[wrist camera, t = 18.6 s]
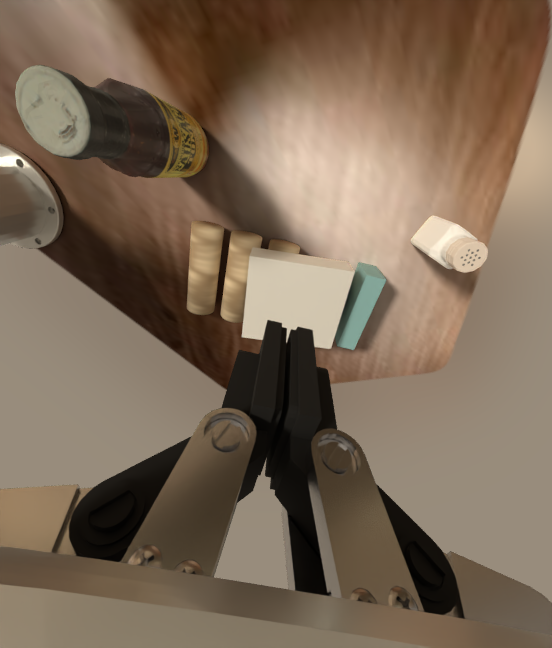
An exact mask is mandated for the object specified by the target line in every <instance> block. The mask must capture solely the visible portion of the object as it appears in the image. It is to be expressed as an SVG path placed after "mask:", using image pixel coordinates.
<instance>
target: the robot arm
mask: <svg viewBox="0 0 552 648" xmlns="http://www.w3.org/2000/svg"><path fill="white" fill-rule="evenodd" d="M63 218H64V217H63V210H62V206H61V202H60V199H59V197H58V195H57V193H56V190H55V188H54V187H53V185H52V184H51V182H50V180H49V179H48V178H47V176H46V175H45V174H44V173H43V172H42V170H41V169H40V168H39V167H38V166H37V165H36V164H35V163H34V162H33V161H32V160H30V159H29V158H28V157H26V156H25V155H24V154H22V153H21V152H19V151H17V150H15V149H14V148H12V147H10V146H7V145H4V144H1V143H0V246H2V245H5V244H9V243H10V244H12V245H15V246H18V247H22V248H29V249H32V248H40V247H43V246H46V245H49V244H51V243H53V242H54V241H55V240H56V239H57V238H58V236H59V235H60V233H61V231H62V227H63ZM286 339H287V328H284V327H282V323H280V322H275V321H271V320H267V324H266V328H265V332H264V336H263V340H262V345H261V349H260V353H259V354H255V353H251V352H246V351H242V350H239V352H238V355H237V358H236V361H235V365H234V368H233V371H232V375H231V378H230V381H229V385H228V388H227V391H226V395H225V398H224V401H223V405H222V408H220V409H216V410H213V411H211V412H210V413H208V414H207V415H205V417H204V418H203V419H202V420H201V421H200V423H199V425H198V426H197V428H196V430H195V432H194V433H193V435H192V436H191V437H189V438H187V439H185V440H184V441H181V442H179V443H178V444H176V445H174V446H172V447H170V448H168V449H166V450H164V451H162V452H160V453H158V454H156V455H154V456H152V457H150V458H148V459H146V460H144V461H142V462H140V463H138V464H136V465H135V466H132V467H130V468H129V469H127V470H125V471H123V472H121V473H119V474H117V475H115V476H113V477H111V478H109V479H107V480H105V481H103V482H102V483H100V484H98V485H97V486H96V487H94V488H79V485H78V484H77V485H59V486H43V487H25V488H8V489H0V648H552V603H551V602H550V601H549V600H548V599H547V598H546V597H545V596H544V595H542V594H541V593H539V592H538V591H536V590H535V589H533V588H531V587H530V586H527V585H525V584H523V583H521V582H518V581H516V580H514V579H512V578H509V577H507V576H505V575H503V574H501V573H498V572H496V571H494V570H492V569H489V568H487V567H485V566H483V565H480V564H478V563H476V562H474V561H472V560H469V559H467V558H465V557H463V556H460V555H458V554H456V553H454V552H451V551H450V552H449V553H447V554H446V553H443V552H442V550H441V549H440V548H439V547H438V546H437V544H436V543H435V542H434V541H433V540H432V539H431V538H430V537H429V536H428V535H427V534H426V533H425V532H424V531H423V530H422V529H421V528H420V527H419V526H418V525H417V524H416V523H415V522H414V521H413V520H412V519H411V518H410V517H409V516H408V515H407V514H406V513H405V512H404V511H403V510H402V509H401V508H400V507H399V506H398V505H397V504H396V503H395V502H394V501H393V500H392V499H391V498H390V497H389V496H388V495H387V494H386V493H385V492H384V491H383V490H382V489H381V488H380V487H379V486H378V485H377V484H376V483H375V480H374V477H373V475H372V472H371V469H370V467H369V464H368V461H367V459H366V456H365V454H364V452H363V450H362V448H361V447H360V445H359V444H358V443H357V442H356V441H355V439H353V438H352V437H351V436H349V435H348V434H346V433H344V432H342V431H340V430H337V425H336V419H335V413H334V406H333V399H332V393H331V387H330V380H329V373H328V370H327V369H325V368H320V367H316V357H315V347H314V337H313V330H311V329H307V328H302V327H297V329H296V330H293V329H291V331H290V334H289V337H288V340H287V344H286ZM266 457H267V460H266ZM265 460H266V470H265V476H266V477H271V484H270V489H274V490H275V496H276V497H277V498H278V499H279V501H280V502H281V504H282V523H283V535H284V546H285V556H286V568H287V579H288V589H281V588H275V587H269V586H263V585H257V584H251V583H244V582H238V581H233V580H226V579H220V578H214V575H215V572H216V568H217V566H218V562H219V559H220V556H221V553H222V550H223V546H224V543H225V540H226V537H227V534H228V531H229V528H230V524H231V521H232V518H233V515H234V512H235V509H236V505H237V503H238V502H239V501H240V500H241V499H243V498H244V497H245V496H247V495H248V494H249V493H251V492H252V491H253V488H254V486H255V483H256V480H257V477H258V475H261V472H262V469H263V466H264V463H265Z"/></svg>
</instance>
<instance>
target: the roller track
mask: <svg viewBox="0 0 552 648" xmlns="http://www.w3.org/2000/svg"><path fill="white" fill-rule="evenodd" d="M223 234H224V228H223V227H222V226H220V225H218V224H215V223H211V222H205V221H194V222H192V224H191V241H190V259H189V276H188V294H187V309H188V310H189V311H190V312H192V313H194V314H198V315H208V314H211V313H213V312H214V310H215V301H216V293H217V285H218V276H219V268H220V259H221V251H222V242H223ZM261 243H262V237H261V236H259V235H257V234H255V233H252V232H248V231H242V230H234V231H232V232H231V237H230V245H229V253H228V260H227V268H226V275H225V283H224V290H223V298H222V305H221V313H220V315H221V317H222V318H223V319H225V320H227V321H229V322H235V323H239V322H243V319H244V309H245V298H246V288H247V277H248V267H249V257H250V253H251V251H252V248H253V247H255V248H261ZM268 250H274V251H281V252H288V253H294V254H299V251H300V247H299V246H298V245H296V244H294V243H292V242H289V241H285V240H280V239H272V240H270V243H269V248H268Z"/></svg>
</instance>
